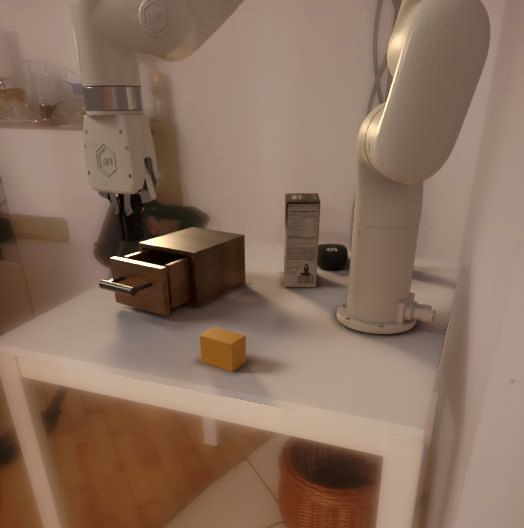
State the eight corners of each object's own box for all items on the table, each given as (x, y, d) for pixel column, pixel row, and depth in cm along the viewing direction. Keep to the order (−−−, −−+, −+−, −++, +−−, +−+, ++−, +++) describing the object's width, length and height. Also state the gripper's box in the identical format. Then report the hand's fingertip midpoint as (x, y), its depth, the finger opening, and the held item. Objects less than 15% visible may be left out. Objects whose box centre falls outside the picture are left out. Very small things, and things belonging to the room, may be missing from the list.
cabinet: (197, 307, 84) (194, 252, 80) (144, 294, 90) (138, 242, 86) (245, 284, 95) (244, 234, 91) (195, 273, 101) (192, 226, 97)
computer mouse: (314, 271, 102) (315, 252, 101) (311, 255, 113) (311, 238, 111) (350, 271, 102) (352, 252, 100) (343, 255, 113) (345, 238, 111)
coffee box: (283, 273, 101) (284, 192, 94) (314, 273, 101) (317, 192, 94) (283, 287, 93) (285, 200, 86) (317, 287, 93) (322, 200, 86)
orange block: (246, 362, 66) (245, 335, 64) (232, 371, 64) (231, 344, 62) (215, 352, 69) (214, 326, 67) (201, 361, 66) (199, 335, 64)
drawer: (144, 325, 75) (138, 277, 71) (94, 311, 80) (86, 265, 77) (216, 291, 89) (214, 249, 85) (169, 281, 94) (165, 240, 91)
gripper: (54, 104, 66) (79, 239, 74) (133, 102, 59) (151, 252, 67) (98, 104, 72) (117, 229, 80) (175, 102, 64) (187, 240, 73)
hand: (132, 239), depth 73 cm, fingers closed
